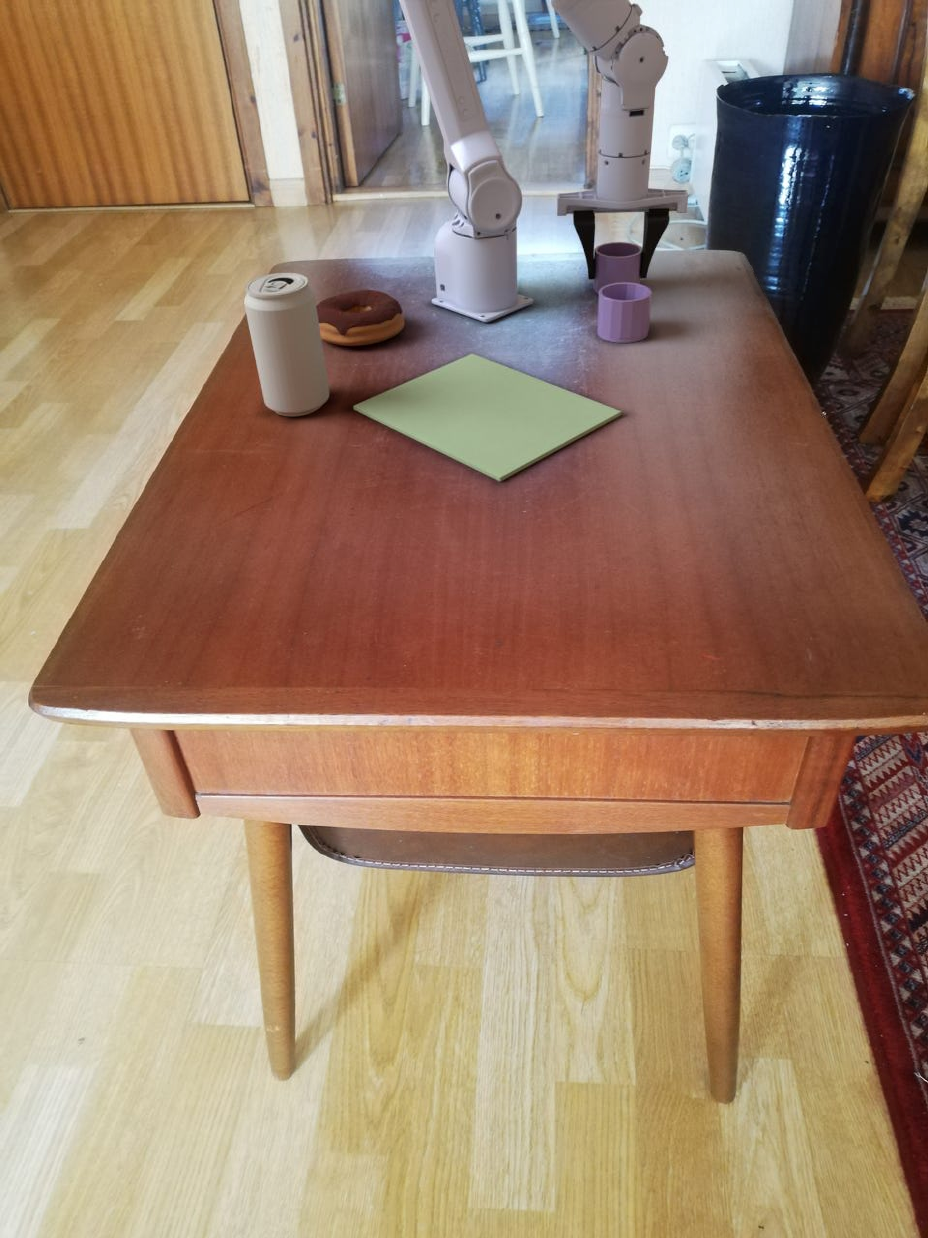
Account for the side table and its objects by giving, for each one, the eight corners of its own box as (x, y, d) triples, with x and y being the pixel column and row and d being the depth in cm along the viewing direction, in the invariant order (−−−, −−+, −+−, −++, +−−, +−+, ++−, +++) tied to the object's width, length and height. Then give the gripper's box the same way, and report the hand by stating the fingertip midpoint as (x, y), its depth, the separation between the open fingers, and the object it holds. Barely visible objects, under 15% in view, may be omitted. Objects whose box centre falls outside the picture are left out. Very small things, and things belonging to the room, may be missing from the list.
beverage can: (341, 393, 92) (324, 272, 85) (312, 423, 88) (291, 297, 80) (284, 387, 94) (262, 267, 86) (253, 415, 89) (227, 292, 82)
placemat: (353, 409, 89) (353, 405, 89) (472, 356, 98) (472, 353, 97) (500, 481, 78) (499, 477, 78) (621, 415, 86) (621, 411, 86)
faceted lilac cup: (586, 333, 101) (588, 292, 98) (618, 318, 104) (621, 278, 101) (626, 347, 98) (629, 305, 95) (658, 331, 100) (662, 290, 98)
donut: (400, 313, 108) (397, 278, 105) (409, 346, 100) (406, 310, 98) (314, 322, 107) (308, 287, 105) (316, 356, 100) (311, 320, 97)
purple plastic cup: (583, 289, 111) (585, 250, 108) (613, 276, 114) (615, 238, 111) (619, 299, 108) (621, 260, 105) (648, 286, 111) (652, 248, 108)
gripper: (687, 140, 104) (675, 263, 112) (558, 144, 105) (556, 265, 114) (695, 156, 98) (681, 283, 107) (558, 160, 100) (556, 286, 108)
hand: (617, 276), depth 110 cm, fingers closed on purple plastic cup, 5 cm apart
